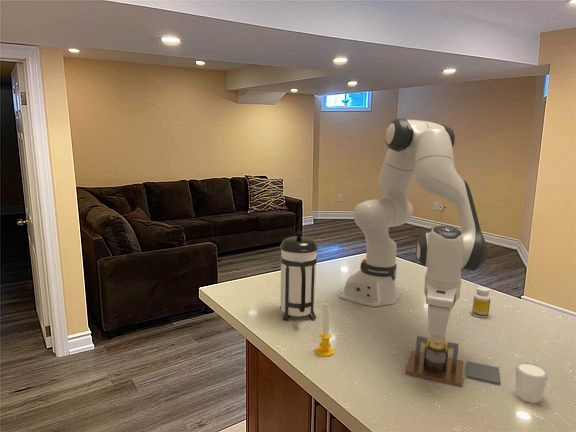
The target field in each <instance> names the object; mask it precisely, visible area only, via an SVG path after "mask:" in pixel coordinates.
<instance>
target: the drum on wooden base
mask: <svg viewBox="0 0 576 432" xmlns="http://www.w3.org/2000/svg"><path fill="white" fill-rule="evenodd" d="M422 342H425V343H427V342H429V337H426V336H425V337H424V336H419V335H417V336H416V340H415V350H413V349H411V350H410V352H409V357H408V361H407V363H406V367H405V375H408V376H413V377H416V378H421V379H424V380H425V379H426V380H430V381H434V382H439V383H443V384H447V385H451V386H455V387H460V388H462V387H463V379H464V378H463V377H464V360H462V359H458V355H459V344H460V343H456V342H450V341H446V346H447V347H450V348H452V356H451V357H449V352H447V351H445V352H442V353H437V352H433V351H431V350H429V348H427V347H424V352H423V351H421V349H422Z"/></svg>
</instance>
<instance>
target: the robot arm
mask: <svg viewBox="0 0 576 432" xmlns="http://www.w3.org/2000/svg"><path fill="white" fill-rule="evenodd" d="M384 140H385V144H386V146H387V148H388V150H387V152H386V154H385V157H384V160H383V164H382V167H381V170H380V174H379V176H378V183H379V186H380V187H381V188H382V189H383V194H382V196H381V197H380V198H377V199H374V198H373V199H368V200H365V201H362V202H360V203H358V204H356V206H355V207H354V209H353V220H354V223H355V225H356V226H357V227H359V228H360V230H361V231H362V233H363V235H364V237H365V245H366V249H365V250H366V256H365V257H366V258H363V259H362V260H361V263H360V265H359V266H360V268H359V269H360V270H358V271H356V272H355V273H353V274H352V275H350V276H349V277H348V278H347V279H346V282H345V285H344V286H343V287H341V288H340V290H339V291H338V293H337V294H338V297H339V299H341V300H345V301H350V302H353V303H357V304H361V305H366V306H369V307H373V308H377V307H380V306H381V307H382V306H389V305H393V304H395V303H396V302H398V296H397V295H398V294H397V290H396V289H397V288H396V278H397V273H398V272H397V271H398V270H397V263H396V262H397V249H398V248H397V243H396V241H394V239H392V238H391V237H390V233H389V228H394V227H399V226H402V225H404V224H406V223H408V222H409V221H410V220H411V219H412V217H413V214H414V208H413V205H412V203H411V202H410V200H409V190H410V186H411V182H412V180H413V176H414V174H415V180H416V183H417V184H418V186H419V187H420V188H421V189H422V190H423V191H425V192H427V193H429V194H431V195H432V196H435V197H438V198H441V199H444V200H445V201H447V202H448V203H451V204H452V205H453V206H454V207H455V208H456V211H457V214H458V219H459V223H460V227H461V230H460V229H459V228H457V227H453V226H451V225H439V226H434V227H432V229H431V231H429V232H424V233H423V234H421V235H420V236H419V237H418V238H417V239H416V250H415V259H416V261H417V262H419V263H420V264H421V266H423V267H426V268H427V269H426V273H425V276H424V286H423V287H424V288H423V293H424V297H425V303H426V304H425V305H427V314H428V315H427V321H428V322H427V324H428V325H427V327H428V329H427V330H428V334H429V336H430V335H431V336H434V337H433V342H434V343H440V342H441V337H444V335H445V336H446V332H447V327H448V323H449V320H450V314H451V311H452V309H453V308H454V306H455V303H456V302H457V301H458V300H459V299H460V298H461V297H460V296H461V288H462V275H461V274H462V273H461V271H462V270H463V271H471V272H475V271H477V270H479V269H480V268H482V267H483V266H484V265H485V264H486V263H487V262H488V257H489V253H488V252H489V251H488V246H487V242H486V240H485V239H486V238H485V237H484V235H483V232H482V229H481V225H480V223H479V222H480V221H479V217H478V213H477V209H476V206H475V201H474V198H473V195H472V191H471V188H470V186H469V184H468V182H467V181H466V180H464V179H463V178H462V177H461V176H460V175H459V173H458V172H457V170H456V167H455V159H454V158H455V155H454V149H453V148H454V146H455V141H456V136H455V132H454V130H453V128H451V127H450V126H448V125H445V124H439V123H435V122H432V121H427V120H419V119H407V118H395V119H393V120H392V121H391V122H390V123H389V124H388V126H387V129H386V131H385V137H384Z"/></svg>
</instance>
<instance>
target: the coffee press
mask: <svg viewBox="0 0 576 432" xmlns="http://www.w3.org/2000/svg"><path fill="white" fill-rule="evenodd" d="M295 235H296V236H289V237H286V238H285V239H282V241H281V243H280V245H279V249H280V254H281V255H280V258H279V259H280V306H279V309H280V311H282V313H284V314H283V316H282V321H285V322H288V321H289V320H290V318H291V317H305V316H307V317H309V319H310V320H311V321H314V320H316V319H317V316H316V314H315V309H316V284H317V283H316V282H317V281H316V280H317V263H318V257H317V252H318V249H319V245H317V243H316V241H315V240H314V239H313V238H311V237H308V236H303V232H302V231H301V230H297V231H296V233H295Z"/></svg>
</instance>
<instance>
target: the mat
mask: <svg viewBox="0 0 576 432" xmlns="http://www.w3.org/2000/svg"><path fill="white" fill-rule="evenodd" d="M466 379H470V380H471V379H472V380H474V381H479V382H484V383H488V384H493V385H494V384H495V385H498V386H501V374H500V368H499V367H498V366H493V365H488V364H483V363H478V362H474V361H468V360H466Z"/></svg>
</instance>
